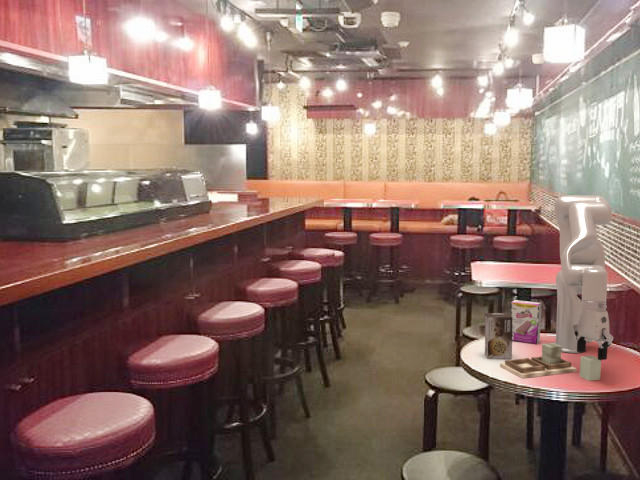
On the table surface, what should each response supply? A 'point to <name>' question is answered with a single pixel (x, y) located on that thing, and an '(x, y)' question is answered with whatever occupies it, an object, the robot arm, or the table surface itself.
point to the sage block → (590, 368)
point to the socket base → (540, 363)
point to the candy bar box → (526, 321)
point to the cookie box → (498, 335)
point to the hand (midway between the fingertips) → (591, 355)
